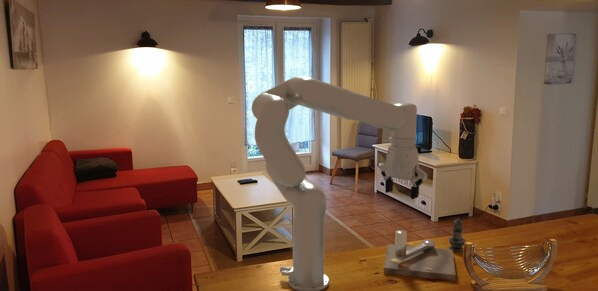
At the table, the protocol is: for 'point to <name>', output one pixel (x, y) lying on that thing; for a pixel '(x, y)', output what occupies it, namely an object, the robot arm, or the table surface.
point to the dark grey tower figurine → (457, 237)
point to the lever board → (421, 264)
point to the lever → (401, 245)
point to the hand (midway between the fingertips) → (401, 194)
